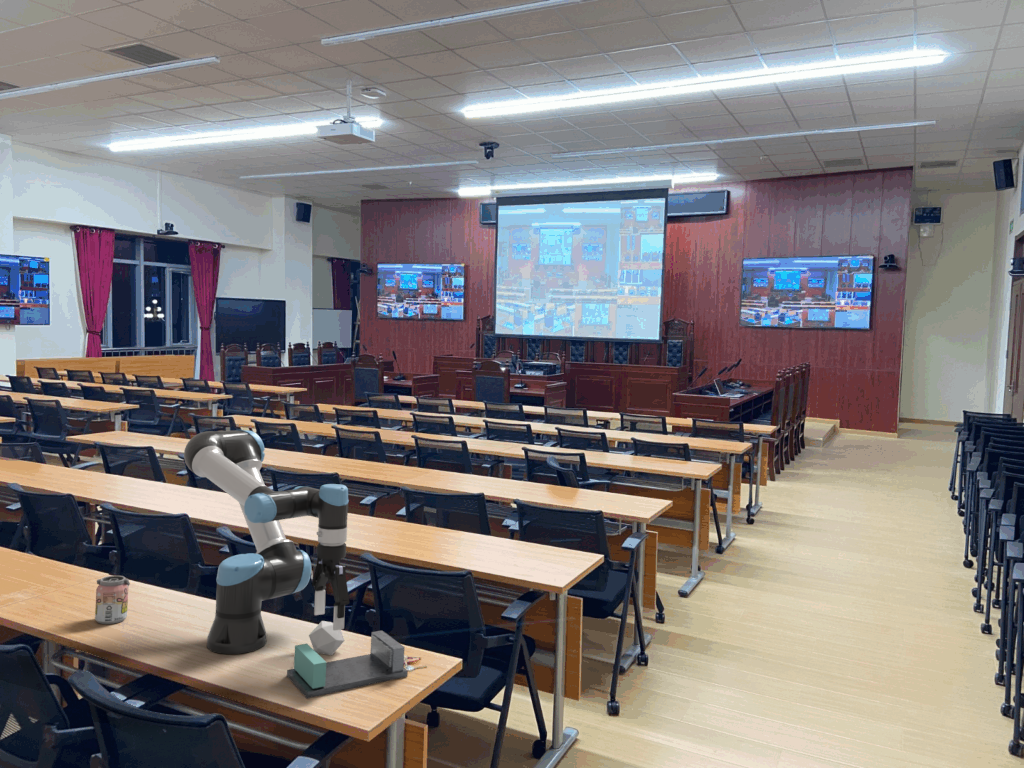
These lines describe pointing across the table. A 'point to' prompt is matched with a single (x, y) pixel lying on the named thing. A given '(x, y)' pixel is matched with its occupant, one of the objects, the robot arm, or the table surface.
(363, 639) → the table surface
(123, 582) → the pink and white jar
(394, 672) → the vise base
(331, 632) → the die
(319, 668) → the bar
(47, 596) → the table surface
